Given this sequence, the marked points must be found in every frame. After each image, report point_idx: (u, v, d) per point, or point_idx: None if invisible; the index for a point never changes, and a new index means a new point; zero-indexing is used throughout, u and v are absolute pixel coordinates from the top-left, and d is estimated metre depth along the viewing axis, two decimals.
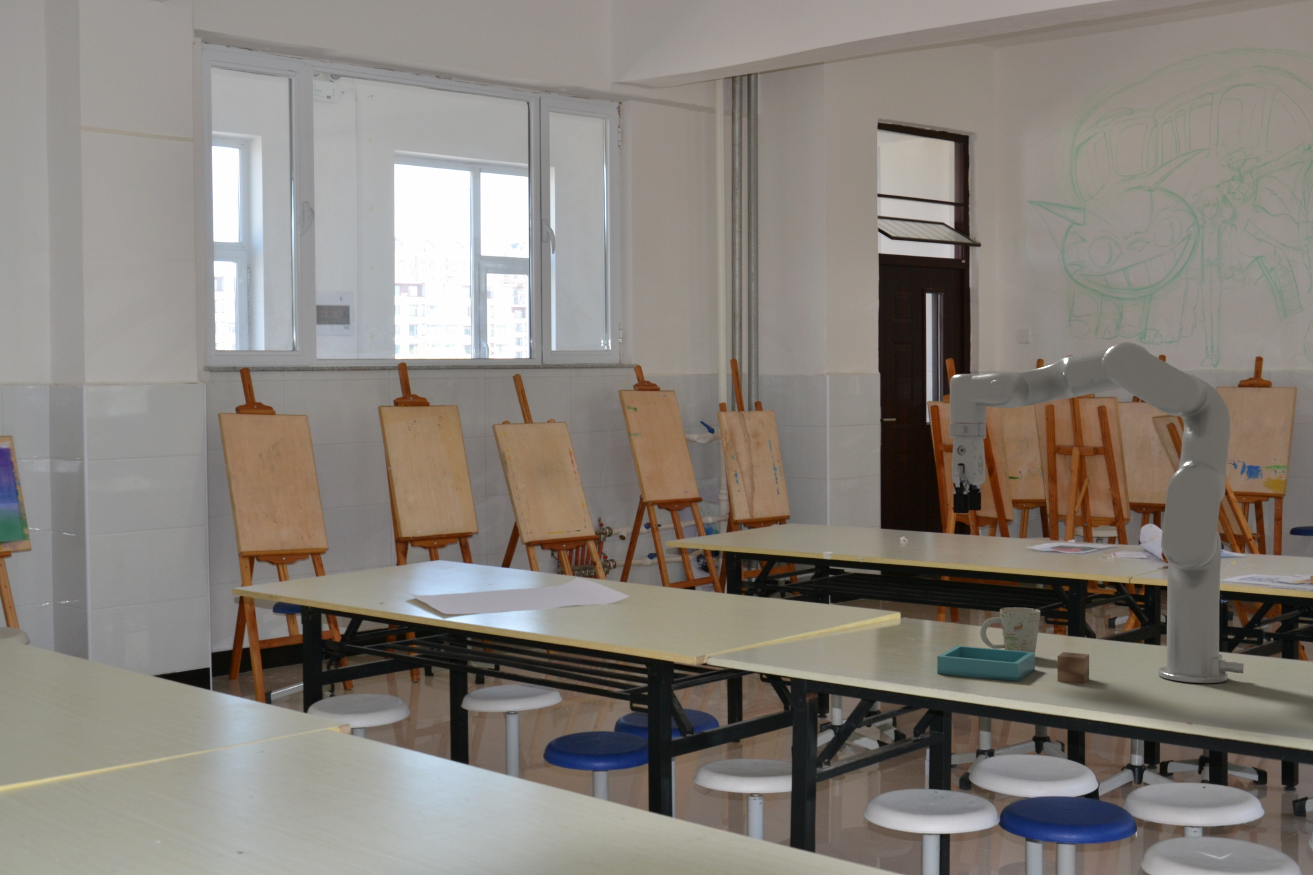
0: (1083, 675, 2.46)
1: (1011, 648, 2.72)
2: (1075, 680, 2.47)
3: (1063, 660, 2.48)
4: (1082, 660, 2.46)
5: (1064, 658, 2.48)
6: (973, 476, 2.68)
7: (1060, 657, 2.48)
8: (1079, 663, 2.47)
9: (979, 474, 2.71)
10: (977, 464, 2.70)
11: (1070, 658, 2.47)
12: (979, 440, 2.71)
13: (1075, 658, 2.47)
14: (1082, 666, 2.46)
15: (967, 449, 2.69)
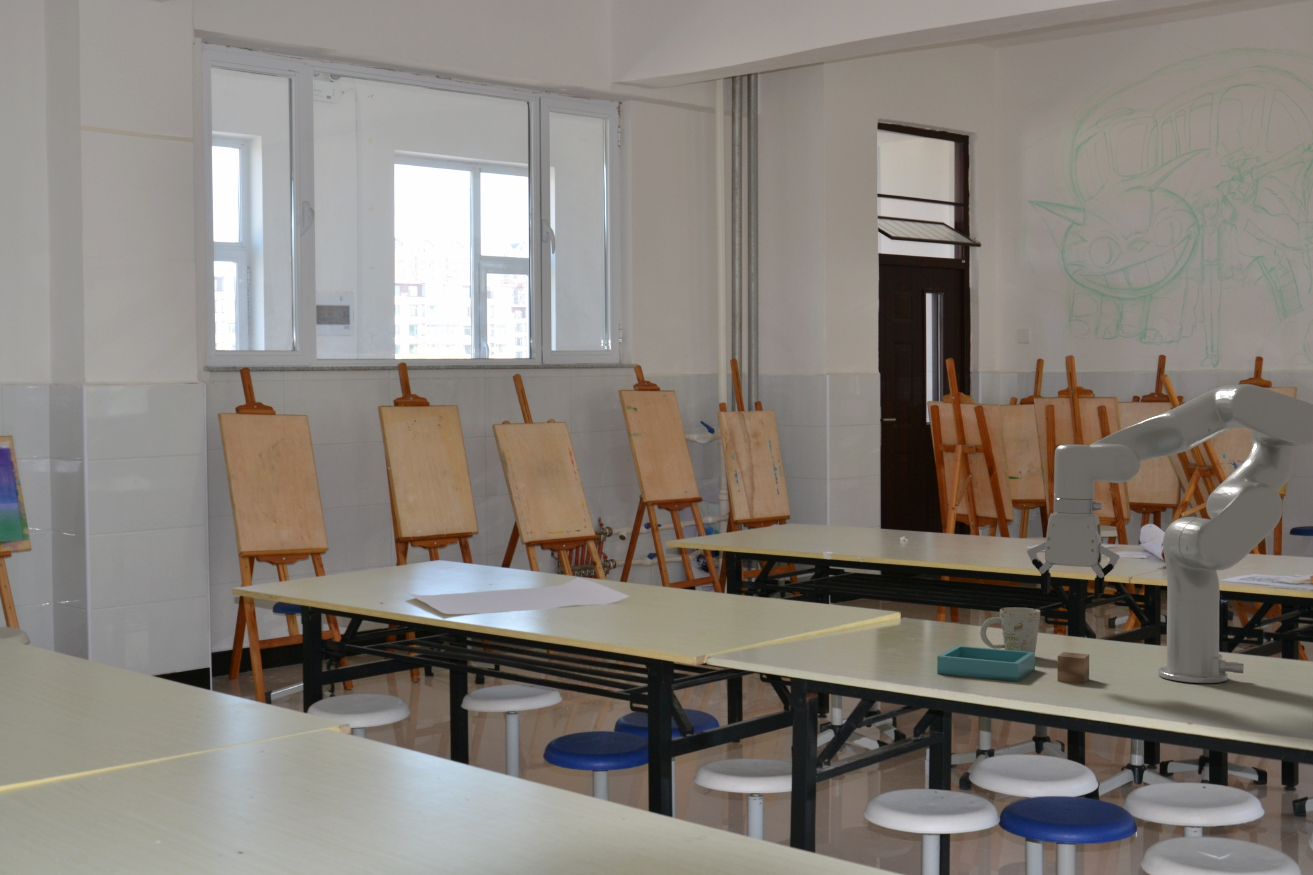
0: (1083, 675, 2.46)
1: (1011, 648, 2.72)
2: (1075, 680, 2.47)
3: (1063, 660, 2.48)
4: (1082, 660, 2.46)
5: (1064, 658, 2.48)
6: None
7: (1060, 657, 2.48)
8: (1079, 663, 2.47)
9: None
10: None
11: (1070, 658, 2.47)
12: None
13: (1075, 658, 2.47)
14: (1082, 666, 2.46)
15: None
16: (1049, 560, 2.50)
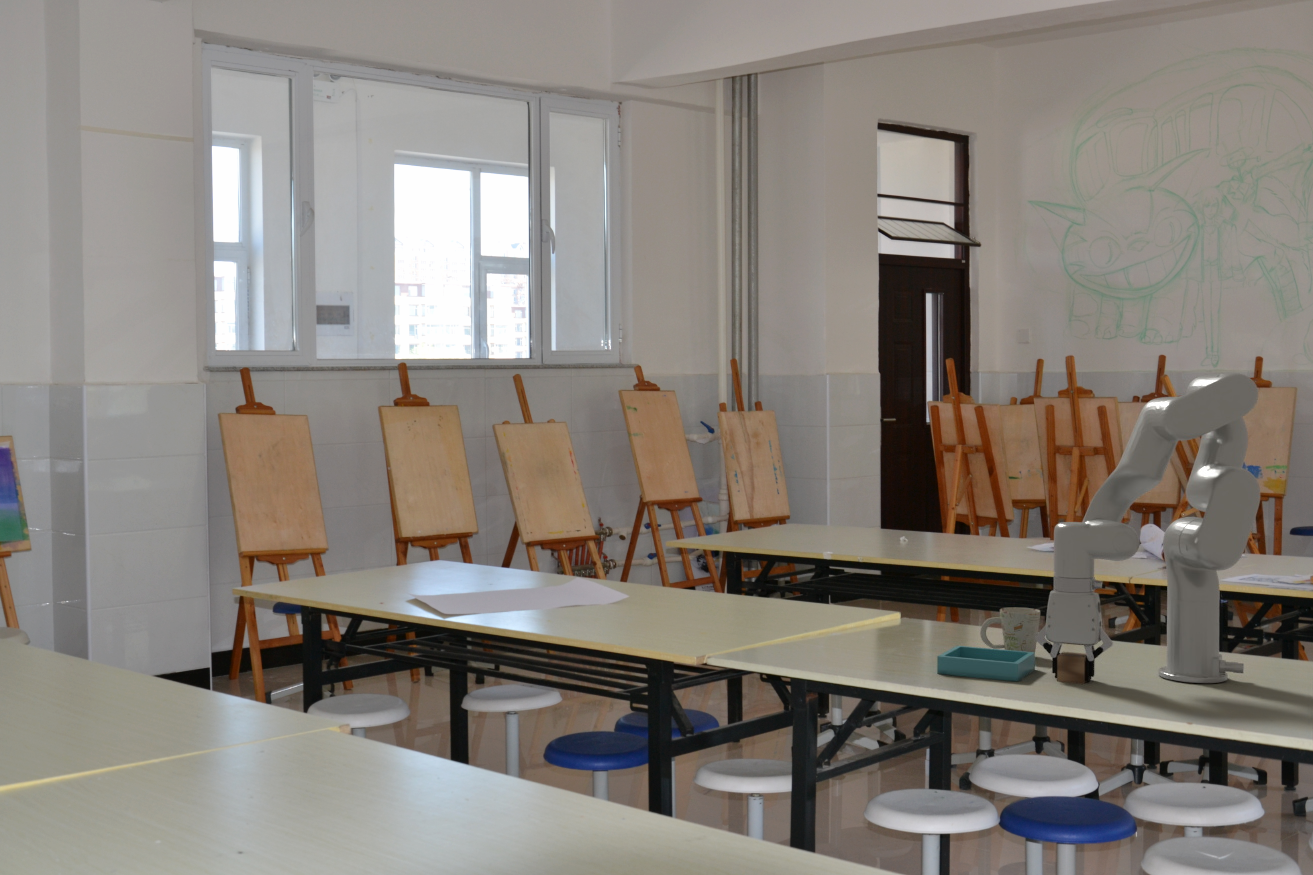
0: (1083, 675, 2.46)
1: (1011, 648, 2.72)
2: (1075, 680, 2.47)
3: (1063, 660, 2.48)
4: (1082, 660, 2.46)
5: (1064, 658, 2.48)
6: None
7: (1060, 657, 2.48)
8: (1079, 663, 2.47)
9: None
10: None
11: (1070, 658, 2.47)
12: None
13: (1075, 658, 2.47)
14: (1082, 665, 2.46)
15: (1100, 605, 2.48)
16: (1050, 638, 2.50)
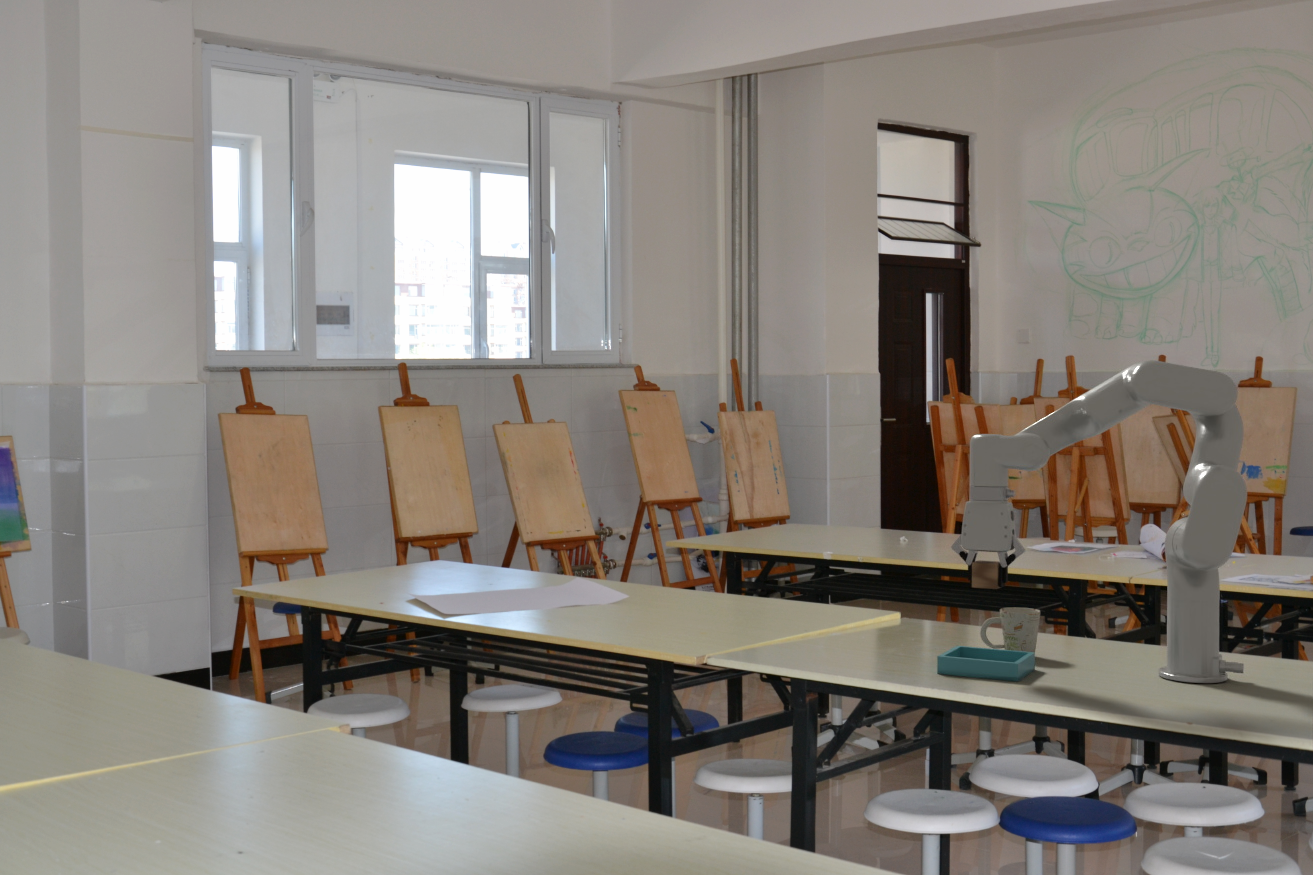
0: (996, 580, 2.54)
1: (1011, 648, 2.72)
2: (988, 585, 2.55)
3: (977, 566, 2.56)
4: (995, 566, 2.54)
5: (978, 564, 2.56)
6: None
7: (974, 563, 2.56)
8: (992, 569, 2.55)
9: None
10: None
11: (984, 564, 2.55)
12: None
13: (988, 564, 2.55)
14: (995, 571, 2.54)
15: (1013, 514, 2.56)
16: (965, 546, 2.58)
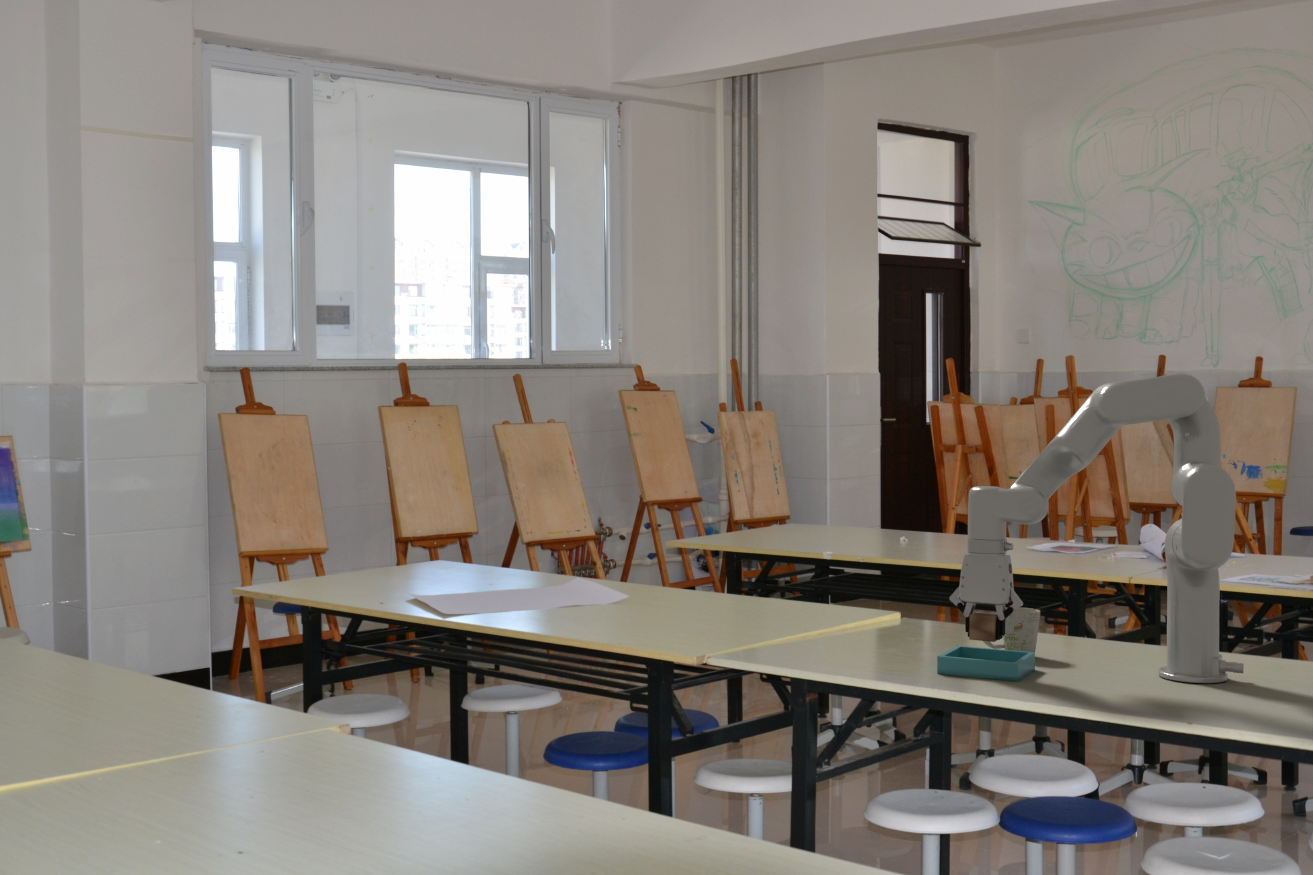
0: (993, 633, 2.55)
1: (1011, 648, 2.72)
2: (985, 638, 2.55)
3: (975, 619, 2.56)
4: (992, 618, 2.55)
5: (975, 617, 2.56)
6: None
7: (972, 616, 2.57)
8: (990, 621, 2.55)
9: None
10: None
11: (981, 617, 2.56)
12: None
13: (986, 617, 2.55)
14: (993, 624, 2.55)
15: (1011, 566, 2.56)
16: (963, 598, 2.58)
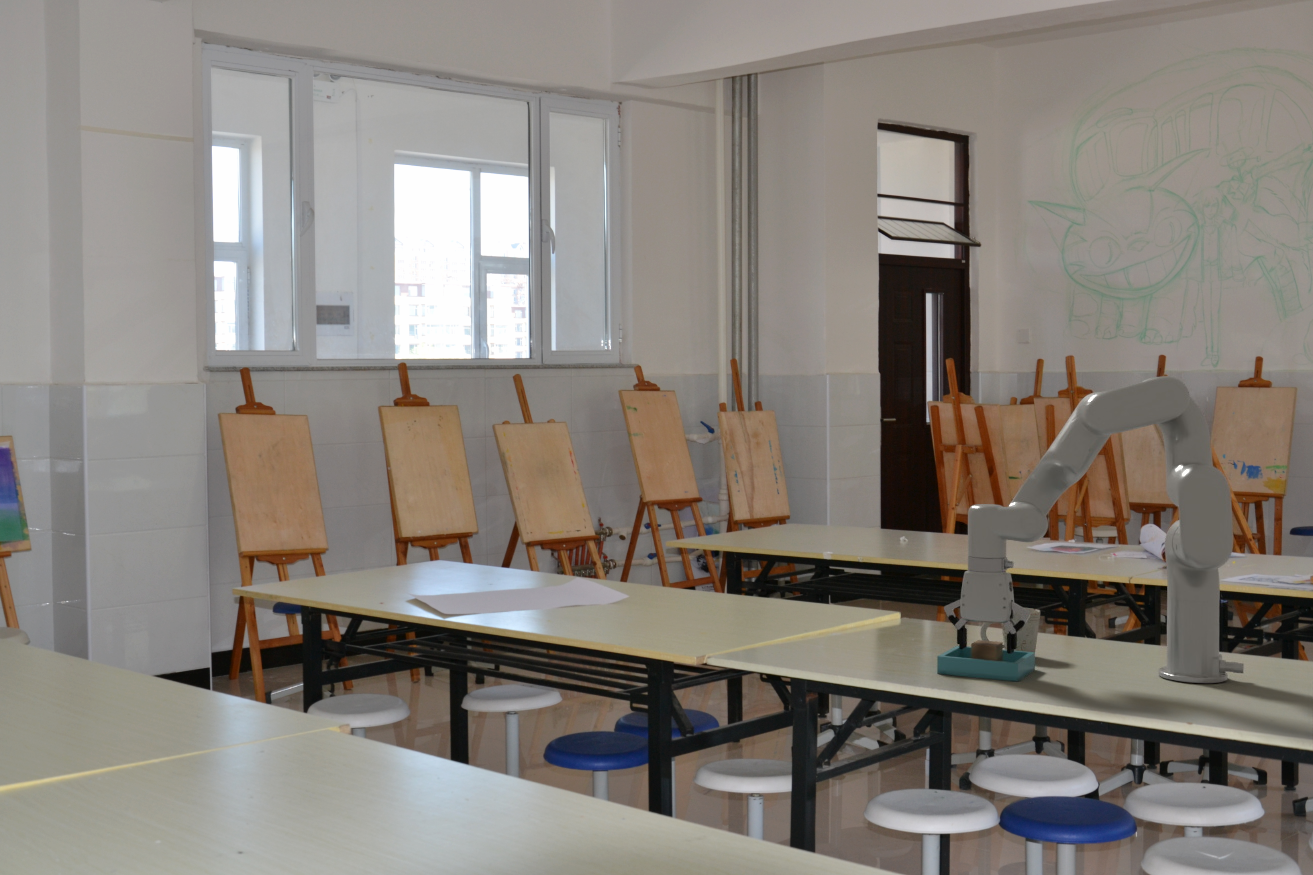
0: None
1: None
2: None
3: (976, 648, 2.56)
4: (994, 647, 2.55)
5: (977, 646, 2.56)
6: None
7: (973, 645, 2.57)
8: (991, 650, 2.55)
9: None
10: None
11: (983, 646, 2.56)
12: None
13: (987, 646, 2.55)
14: (994, 653, 2.55)
15: None
16: (964, 616, 2.58)
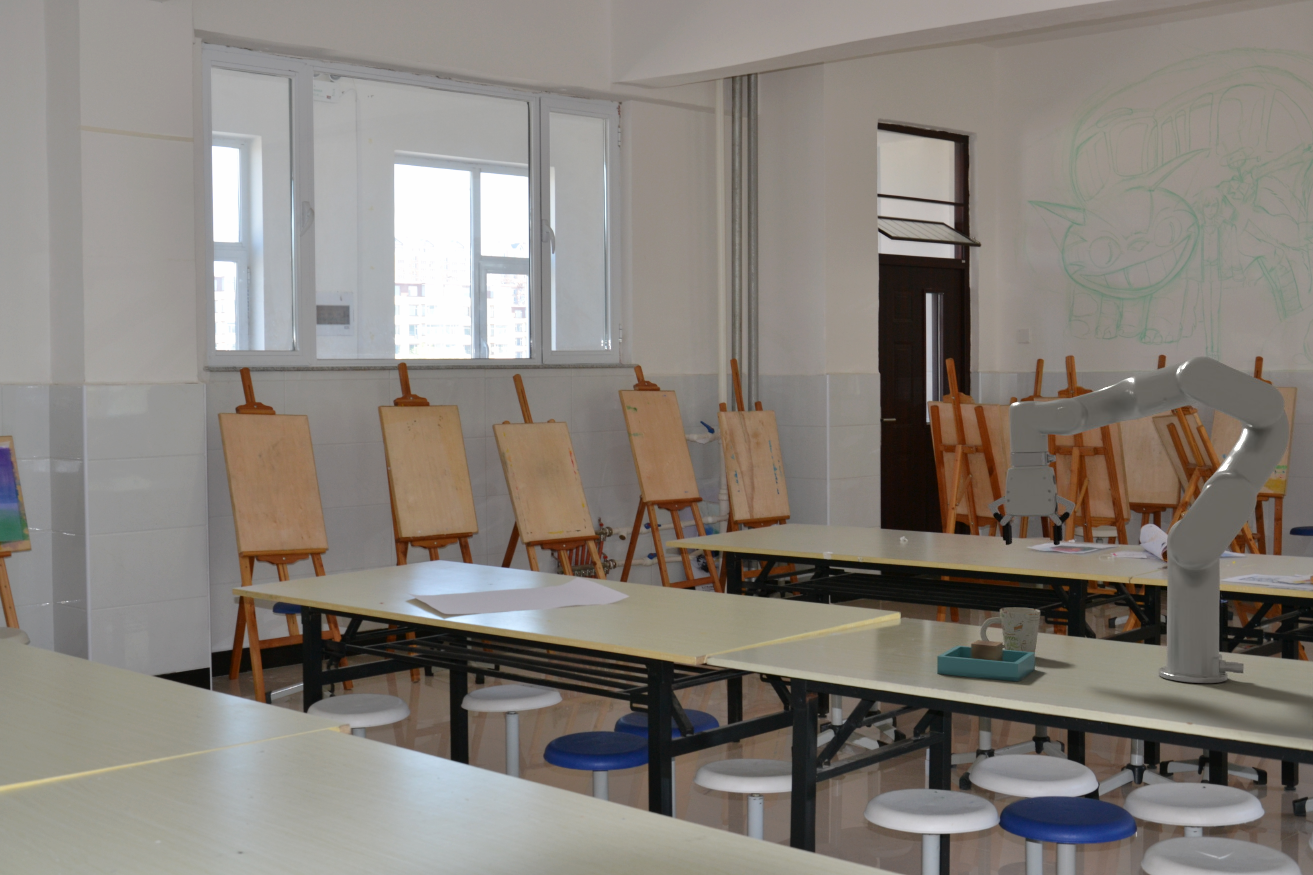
0: None
1: (1011, 648, 2.72)
2: None
3: (976, 648, 2.56)
4: (994, 647, 2.55)
5: (977, 646, 2.56)
6: None
7: (973, 645, 2.57)
8: (991, 650, 2.55)
9: None
10: None
11: (983, 646, 2.56)
12: None
13: (987, 646, 2.55)
14: (994, 653, 2.55)
15: (1055, 478, 2.62)
16: (1009, 512, 2.63)
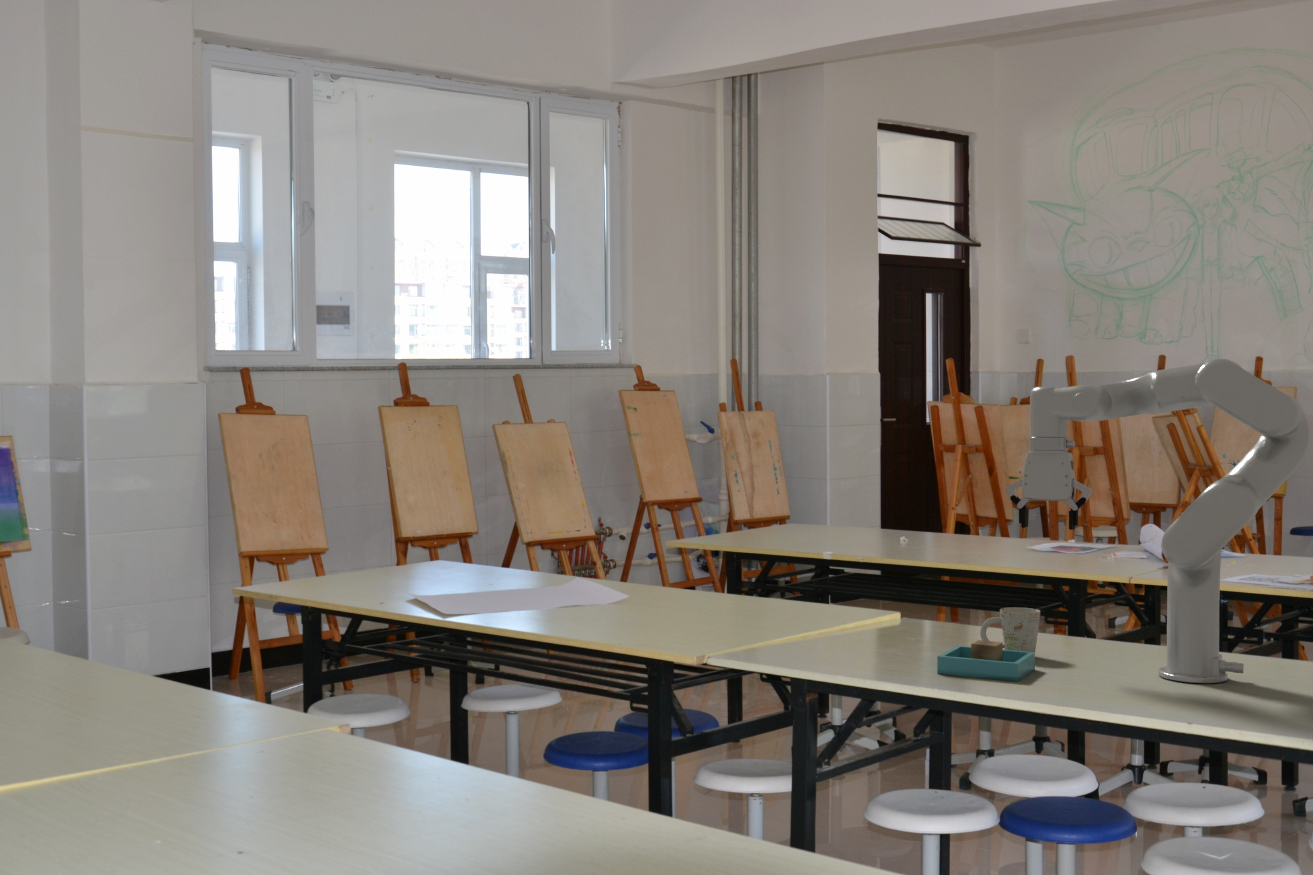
0: None
1: (1011, 648, 2.72)
2: None
3: (976, 648, 2.56)
4: (994, 647, 2.55)
5: (977, 646, 2.56)
6: None
7: (973, 645, 2.57)
8: (991, 650, 2.55)
9: None
10: None
11: (983, 646, 2.56)
12: None
13: (987, 646, 2.55)
14: (994, 653, 2.55)
15: (1073, 463, 2.64)
16: (1026, 495, 2.65)
